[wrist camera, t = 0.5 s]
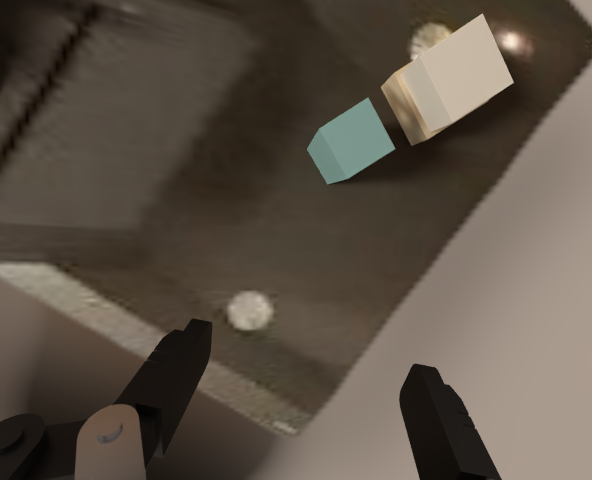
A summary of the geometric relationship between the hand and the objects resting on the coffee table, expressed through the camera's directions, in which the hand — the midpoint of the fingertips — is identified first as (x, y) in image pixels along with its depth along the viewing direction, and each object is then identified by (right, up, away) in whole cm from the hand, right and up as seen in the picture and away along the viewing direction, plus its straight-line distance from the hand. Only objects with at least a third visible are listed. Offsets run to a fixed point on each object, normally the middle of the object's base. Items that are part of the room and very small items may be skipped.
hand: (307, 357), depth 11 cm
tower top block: (+16, +21, +19) cm, 33 cm away
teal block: (+4, +15, +23) cm, 28 cm away
